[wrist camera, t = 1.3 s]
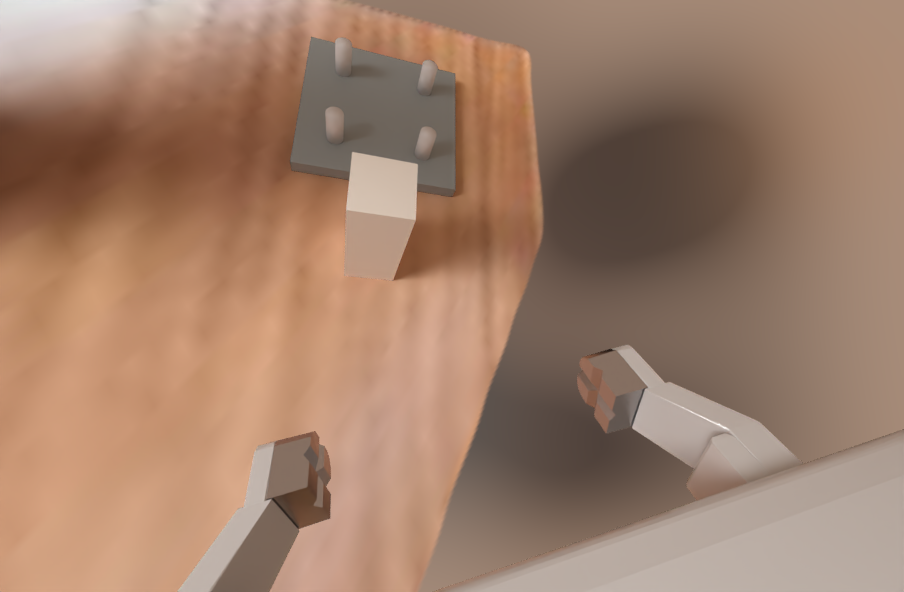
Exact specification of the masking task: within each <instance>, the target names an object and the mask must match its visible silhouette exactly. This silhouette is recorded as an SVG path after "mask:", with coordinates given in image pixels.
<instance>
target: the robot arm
mask: <svg viewBox="0 0 904 592" xmlns="http://www.w3.org/2000/svg"><path fill="white" fill-rule="evenodd" d="M579 366H580V367H581V368H582V371H581V372H580V373H579V374H578V379H577V383H578V388H579V391H580V394H581V396H582V398H583V399H584V401H585V402H586V404H588V405H590V406H592V407H594V408H595V410H594V416H595V418H596V419H597V420H598V422H599V423H600V425H601V427H602V428H603V430H604V431H605V433H606V434H607V433H610V432H614V431H618V430H621V429H625V428H629V427H632V429H634V430H636V431H637V432H639V433H640V434H642V435H643V436H645V437H646V438H648V439H649V440H651V441H653V442H654V443H655V444H657V445H659V446H660V447H661V448H663V449H665V450H666V451H667V452H669V453H671V454H672V455H674V456H675V457H677V458H678V459H680V460H681V461H683V462H684V463H686V464H687V465H689V466H690V467H692V468H694V470H693V472H692V473H691V475H690V477H689V479H688V480H687V484H686V487H687V488H688V489H689V491H690V492H691V493H692V495H693V496H694V497H695V499H696V500H697V501H694V502H691V503H688V504H686V505H683V506H680V507H677V508H674V509H671V510H668V511H665V512H663V513H660V514H656V515H654V516H651V517H648V518H645V519H642V520H639V521H636V522H633V523H630V524H627V525H625V526H622V527H619V528H616V529H613V530H610V531H607V532H604V533H601V534H598V535H596V536H593V537H590V538H587V539H584V540H581V541H578V542H575V543H572V544H570V545H567V546H564V547H561V548H558V549H555V550H552V551H549V552H546V553H543V554H540V555H538V556H535V557H532V558H529V559H526V560H523V561H520V562H517V563H514V564H511V565H509V566H506V567H503V568H500V569H497V570H494V571H491V572H489V573H485V574H483V575H480V576H477V577H474V578H471V579H468V580H465V581H462V582H459V583H456V584H453V585H450V586H448V587H445V588H442V589H439V590H436V591H433V592H904V429H903V430H900V431H897V432H894V433H892V434H889V435H886V436H883V437H880V438H877V439H874V440H871V441H868V442H865V443H862V444H860V445H857V446H854V447H851V448H848V449H845V450H843V451H839V452H837V453H833V454H831V455H828V456H825V457H822V458H819V459H816V460H813V461H810V462H807V463H804V464H803V463H802V462H801V461H800V460H799V459H798V458H797V457H796V456H795V455H794V454H793V453H792V452H791V451H790V450H789V449H787V448H786V447H785V446H784V445H783V444H782V443H781V442H780V441H779V440H778V439H777V438H776V437H775V436H774V435H773V434H772V433H770V431H768V430H767V429H766V428H765V427H764V426H763V425H762V424H761V423H760V422H759V421H757V420H754V419H752V418H750V417H748V416H745V415H743V414H741V413H739V412H737V411H734V410H732V409H730V408H727V407H725V406H723V405H721V404H719V403H716V402H714V401H712V400H710V399H707V398H705V397H703V396H700V395H698V394H696V393H694V392H691V391H689V390H687V389H685V388H682V387H680V386H678V385H675V384H673V383H671V382H668V383H665V382H664V381H663V380H662V379H661V378H660V377H659V376H658V375H657V374H656V372H655V371H654V370H653V369H652V368H651V367H650V366H649V365H648V364H647V363H646V362H645V361H644V360H643V358H642V357H641V356H640V355H639V354H638V353H637V352H636V351H635V350H634V349H633V348H632V347H631V346H629V345H624V346H620V347H617V348H613V349H608V350H605V351H601V352H598V353H595V354H591V355H587V356H584V357H582V358H581V360H580V364H579ZM330 479H331V466H330V459H329V455H328V452H327V450H326V448H325V446H323V445H320V444H319V436H318V435H317V433H316V432H315V431H314V432H310V433H306V434H302V435H298V436H294V437H290V438H286V439H282V440H278V441H274V442H270V443H266V444H263V445H259V446H258V447H257V449H256V450H255V452H254V457H253V462H252V467H251V472H250V477H249V483H248V488H247V493H246V498H245V503H244V507H242V508H239V509H237V511H236V512H235V514H234V515H233V516H232V518H231V519H230V520H229V522H228V523H227V524H226V526H225V527H224V529H223V530H222V531H221V533H220V534H219V535H218V537H217V538H216V540H215V541H214V542H213V544H212V545H211V546H210V548H209V549H208V550H207V552H206V553H205V555H204V556H203V557H202V559H201V560H200V561H199V563H198V564H197V565H196V567H195V568H194V570H193V571H192V572H191V574H190V575H189V576H188V578H187V579H186V581H185V582H184V583H183V585H182V586H181V587H180V589H179V590H178V591H177V592H269V591H270V589H271V587H272V585H273V583H274V581H275V579H276V577H277V575H278V573H279V571H280V569H281V567H282V565H283V563H284V561H285V559H286V557H287V555H288V553H289V551H290V549H291V547H292V545H293V543H294V541H295V539H296V537H297V535H298V533H299V529H300V528H303V527H306V526H309V525H312V524H315V523H318V522H321V521H324V520H327V519H330V504H331V494H330V492H329V491H328V489H327V487H326V486H327V484H328V482H329V481H330Z"/></svg>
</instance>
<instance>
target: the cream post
mask: <svg viewBox="0 0 904 592" xmlns="http://www.w3.org/2000/svg"><path fill="white" fill-rule="evenodd" d="M417 173H418V164H415V163H410V162H404V161H399V160H394V159H388V158H383V157H377V156H372V155H366V154H361V153H356V152H352V159H351V168H350V177H349V187H348V196H347V206H346V229H345V263H344V276H351V277H361V278H371V279H381V280H391V281H393V279H394V277H395V274H396V271H397V269H398V266H399V263H400V261H401V258H402V255H403V253H404V250H405V247H406V245H407V242H408V239H409V237H410V234H411V231H412V229H413V226H414V223H415V221H416V200H417Z"/></svg>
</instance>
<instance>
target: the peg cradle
mask: <svg viewBox="0 0 904 592" xmlns="http://www.w3.org/2000/svg"><path fill="white" fill-rule="evenodd" d="M352 152H356V153H361V154H366V155H372V156H377V157H383V158H388V159H394V160H399V161H404V162H410V163H415V164H418V173H417V191H419V192H425V193H431V194H438V195H444V196H450V197H452V196H453V194H454V192H455V190H456V170H455V73H451V72H447V71H443V70H439V69H438V66H437V64H436V63H435V62H433V61H431V60H425V61H424V62H423V65H420V64H416V63H412V62H408V61H404V60H400V59H396V58H392V57H388V56H384V55H380V54H376V53H372V52H369V51H365V50H361V49H357V48H353V47H352V43H351V42H350V41H349V40H348V39H346V38H337V39H336V41H335V43H333V42H329V41H325V40H322V39H318V38H314V37H311V41H310V47H309V53H308V59H307V65H306V70H305V76H304V82H303V88H302V94H301V100H300V106H299V112H298V118H297V123H296V129H295V135H294V141H293V147H292V153H291V159H290V164H291V169H292V171H298V172H304V173H310V174H316V175H322V176H328V177H334V178H340V179H346V180H349V177H350V168H351V159H352Z"/></svg>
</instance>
